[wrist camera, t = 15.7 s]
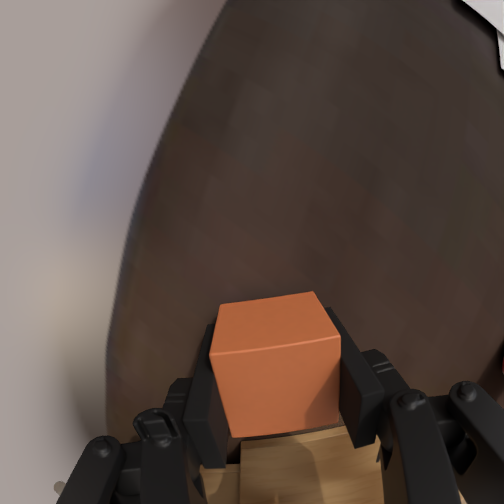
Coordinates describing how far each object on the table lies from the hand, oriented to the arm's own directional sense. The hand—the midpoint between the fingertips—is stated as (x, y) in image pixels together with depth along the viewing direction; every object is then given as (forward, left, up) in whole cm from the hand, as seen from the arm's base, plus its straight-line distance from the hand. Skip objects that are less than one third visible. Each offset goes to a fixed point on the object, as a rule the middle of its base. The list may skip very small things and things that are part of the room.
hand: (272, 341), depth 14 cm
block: (0, 0, 0) cm, 0 cm away
